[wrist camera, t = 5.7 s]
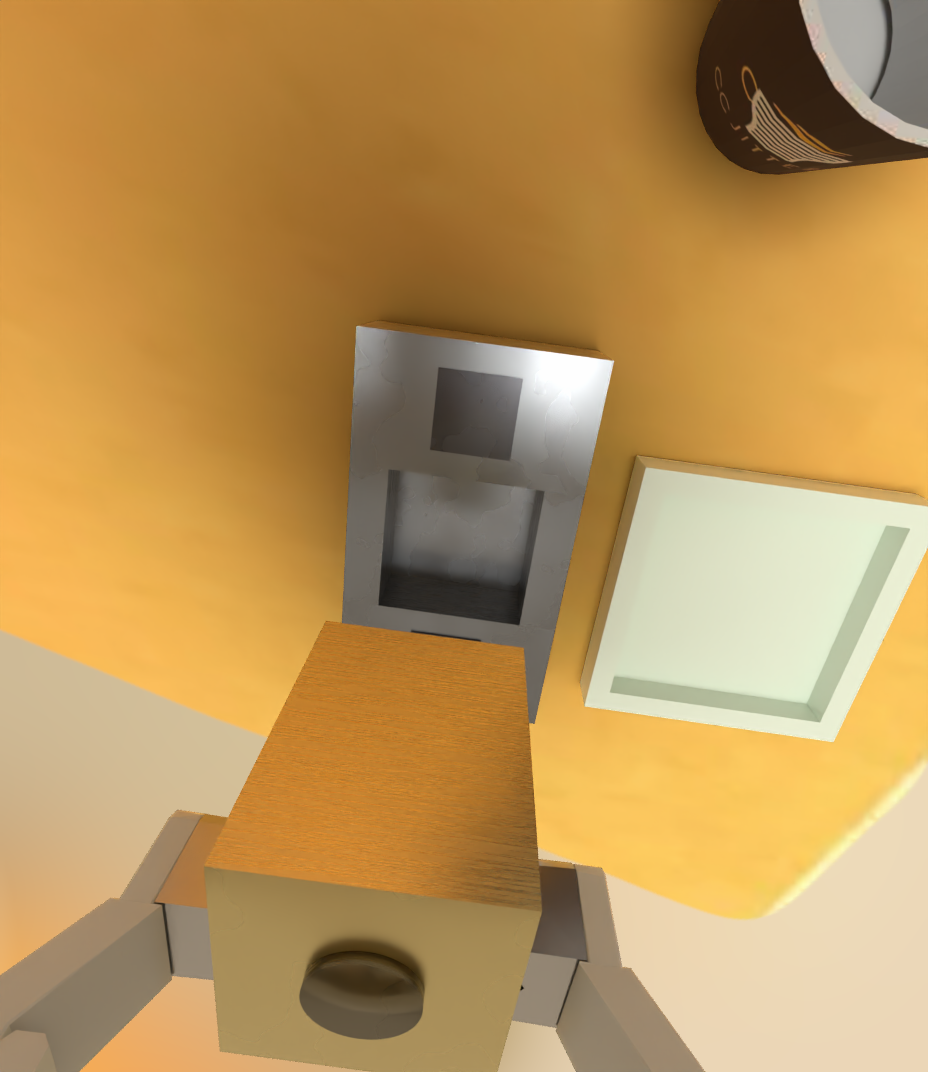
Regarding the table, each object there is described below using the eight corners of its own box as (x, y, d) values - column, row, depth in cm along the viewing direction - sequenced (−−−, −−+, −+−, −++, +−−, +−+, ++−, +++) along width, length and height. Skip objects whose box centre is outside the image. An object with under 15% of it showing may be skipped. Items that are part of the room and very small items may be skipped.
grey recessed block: (377, 320, 24) (355, 325, 20) (598, 350, 24) (614, 361, 20) (356, 650, 30) (337, 696, 27) (531, 675, 30) (534, 725, 26)
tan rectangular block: (326, 621, 13) (196, 880, 8) (523, 647, 13) (542, 926, 8) (321, 768, 15) (214, 1066, 9) (494, 791, 15) (492, 1103, 9)
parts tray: (636, 455, 25) (645, 467, 23) (916, 493, 25) (946, 509, 23) (579, 682, 30) (584, 706, 28) (814, 715, 30) (833, 741, 28)
